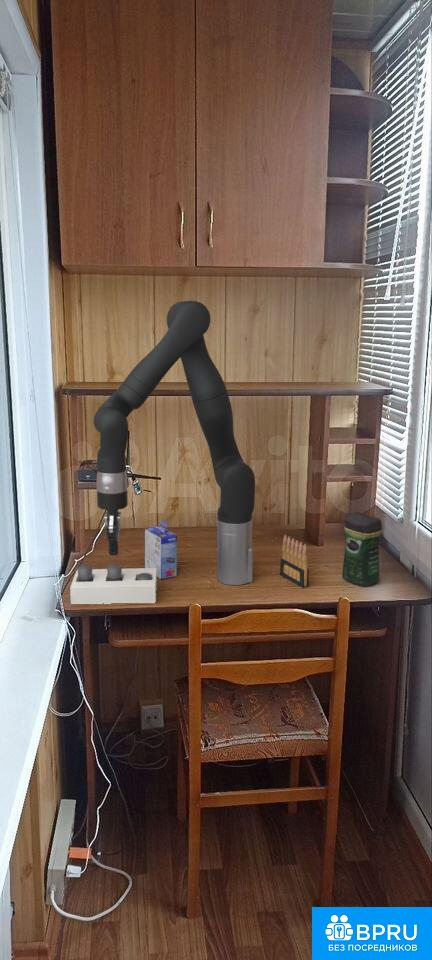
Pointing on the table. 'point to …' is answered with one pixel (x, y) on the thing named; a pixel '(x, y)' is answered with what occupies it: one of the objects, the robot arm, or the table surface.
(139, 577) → the knob
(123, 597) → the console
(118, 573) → the knob middle
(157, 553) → the ink cartridge box
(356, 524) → the coffee jar
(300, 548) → the ammunition clip
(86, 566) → the knob
